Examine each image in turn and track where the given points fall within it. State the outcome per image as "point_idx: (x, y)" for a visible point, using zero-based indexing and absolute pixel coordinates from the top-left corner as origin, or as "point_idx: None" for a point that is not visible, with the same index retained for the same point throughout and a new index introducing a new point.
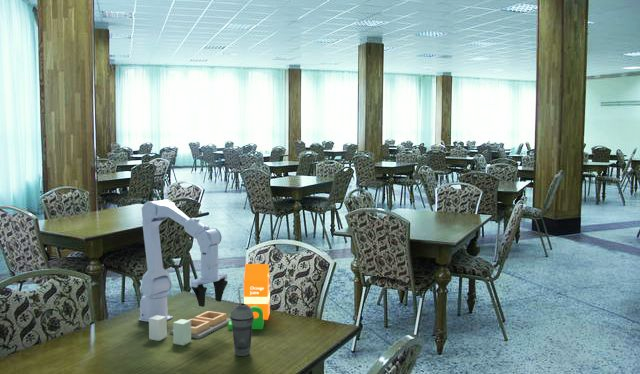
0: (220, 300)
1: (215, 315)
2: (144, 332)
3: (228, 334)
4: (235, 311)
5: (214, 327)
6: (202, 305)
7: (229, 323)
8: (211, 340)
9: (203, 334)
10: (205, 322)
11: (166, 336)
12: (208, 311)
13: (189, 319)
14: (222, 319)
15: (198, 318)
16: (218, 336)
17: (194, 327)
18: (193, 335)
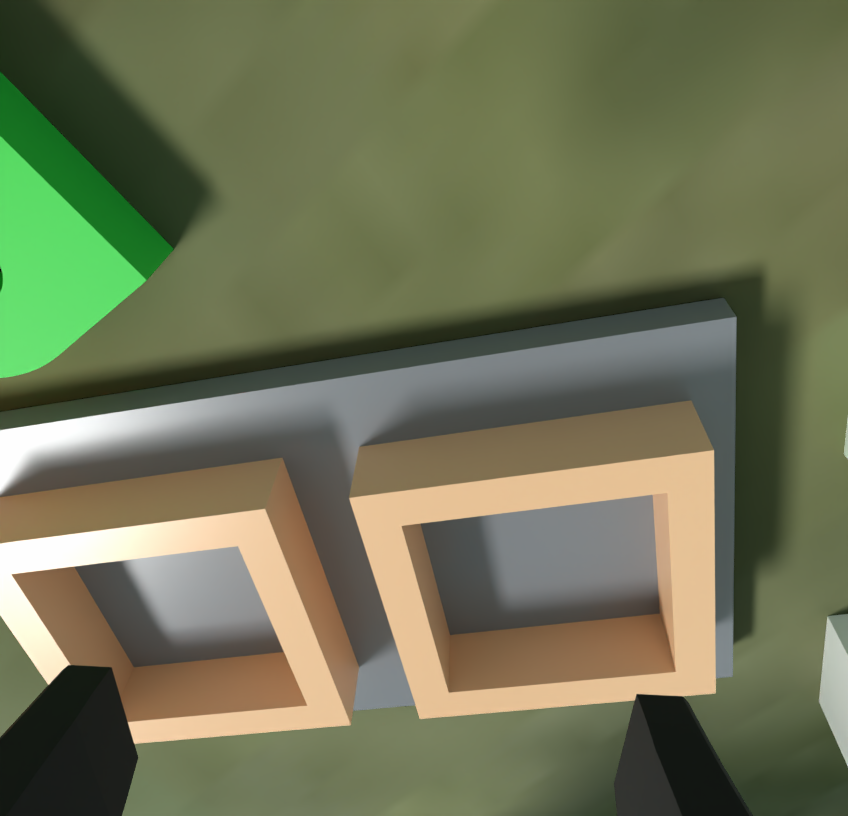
0: (76, 686)
1: (79, 627)
2: (795, 807)
3: (321, 76)
4: None
5: (331, 394)
6: (696, 733)
7: (105, 297)
8: (695, 96)
9: (623, 328)
10: (422, 516)
11: (836, 622)
12: None
13: (461, 712)
14: (72, 498)
15: (338, 677)
16: (488, 143)
17: (689, 490)
18: (733, 401)
